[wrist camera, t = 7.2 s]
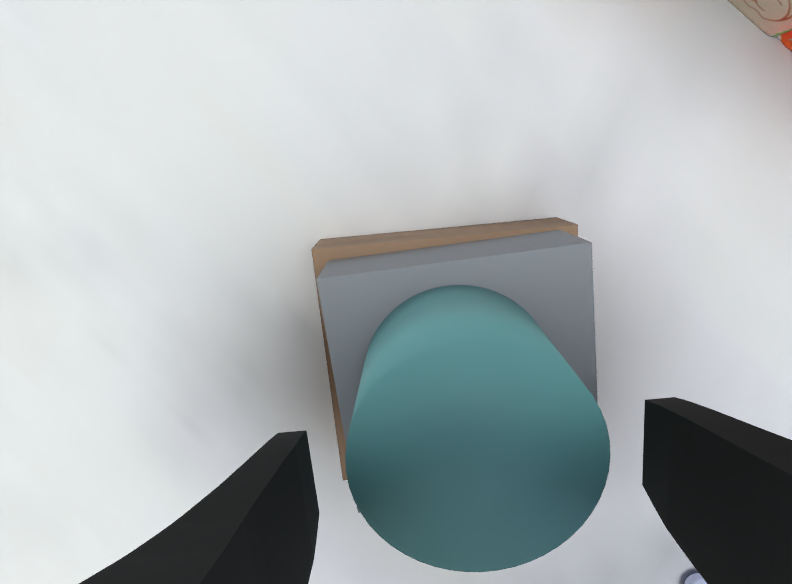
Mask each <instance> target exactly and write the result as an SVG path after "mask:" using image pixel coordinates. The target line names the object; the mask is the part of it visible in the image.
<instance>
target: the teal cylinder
mask: <svg viewBox="0 0 792 584" xmlns="http://www.w3.org/2000/svg"><path fill="white" fill-rule="evenodd" d="M345 461H346V474H347V479H348V484H349V487H350V490H351V493H352V496H353V499H354V501H355V503H356V505H357V507H358V508H359V510H360V512H361V514H362V515H363V517H364V518H365V519H366V521H367V522H368V524H369V525H370V526H371V527H372V528H373V529H374V530H375V531H376V533H377V534H378V535H379V536H380V537H382V538H383V539H384V540H385V541H386V542H388V543H389V544H390V545H391V546H393V547H394V548H396V549H397V550H399V551H400V552H402V553H404V554H405V555H407V556H409V557H411V558H413V559H416V560H418V561H420V562H423V563H426V564H429V565H431V566H434V567H439V568H443V569H448V570H454V571H463V572H486V571H496V570H502V569H506V568H511V567H515V566H518V565H521V564H524V563H527V562H530V561H532V560H534V559H537V558H539V557H541V556H543V555H545V554H547V553H548V552H550V551H552V550H553V549H555V548H557V547H558V546H560V545H561V544H562V543H563V542H565V541H566V540H567V539H569V538H570V537H571V536H572V535H573V534H574V533H575V532H576V531H577V530H578V529H579V528H580V527H581V526H582V525H583V523H584V522H585V521H586V520H587V518H588V517H589V516H590V514H591V513H592V511H593V510H594V508H595V506H596V505H597V503H598V501H599V499H600V497H601V494H602V492H603V489H604V487H605V484H606V480H607V476H608V472H609V463H610V441H609V436H608V431H607V426H606V423H605V420H604V417H603V415H602V412H601V410H600V408H599V406H598V404H597V402H596V401H595V399H594V397H593V395H592V394H591V393H590V391H589V390H588V389H587V388H586V386H585V385H584V384H583V382H582V381H581V380H580V378H579V377H578V376H577V375H576V373H575V372H574V371H573V369H572V368H571V367H570V366H569V364H568V363H567V362H566V360H565V359H564V358H563V356H562V355H561V354H560V353H559V351H558V350H557V349H556V347H555V346H554V345H553V344H552V342H551V341H550V340H549V338H548V337H547V336H546V334H545V333H544V332H543V331H542V329H541V328H540V327H539V325H538V324H537V323H536V322H535V320H534V319H533V318H532V316H531V315H530V314H529V313H528V312H527V311H526V310H525V309H524V308H522V307H521V306H520V305H518V304H517V303H516V302H514V301H513V300H511V299H510V298H508V297H506V296H504V295H502V294H500V293H497V292H495V291H492V290H489V289H485V288H481V287H477V286H468V285H450V286H443V287H438V288H434V289H430V290H427V291H424V292H422V293H419V294H417V295H415V296H413V297H411V298H410V299H408V300H406V301H404V302H403V303H402V304H400V305H399V306H398V307H396V308H395V309H394V310H393V311H392V312H391V313H390V314H389V315H388V316H387V317H386V318H385V319H384V320H383V322H382V323H381V324H380V326H379V327H378V328H377V330H376V332H375V334H374V335H373V337H372V340H371V342H370V345H369V347H368V350H367V354H366V358H365V363H364V367H363V371H362V376H361V380H360V385H359V389H358V393H357V398H356V402H355V407H354V411H353V415H352V420H351V424H350V429H349V433H348V437H347V443H346V453H345Z"/></svg>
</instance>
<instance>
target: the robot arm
mask: <svg viewBox="0 0 792 584" xmlns="http://www.w3.org/2000/svg"><path fill="white" fill-rule="evenodd" d="M642 485H643V487H644V489H645V490H646V492H647V494H648V496H649V498H650V500H651V502H652V504H653V505H654V507H655V509H656V511H657V513H658V514H659V516H660V518H661V519H662V521H663V523H664V525H665V526H666V528H667V530H668V531H669V532H670V534H671V535H672V537H673V538H674V539H675V541H676V542H677V544H678V545H679V546H680V548H681V549H682V550H683V552H684V553H685V554H686V556H687V557H688V559H689V560H690V561H691V563H692V564H693V565H694V567H695V568H696V569H697V571H698V572H699V573H695V574H692V575H690V576H688V578H687V579H686V580H685V583H684V584H792V440H790V439H787V438H785V437H782V436H779V435H777V434H774V433H771V432H769V431H766V430H764V429H761V428H758V427H756V426H753V425H751V424H748V423H745V422H743V421H740V420H738V419H735V418H733V417H730V416H727V415H725V414H722V413H720V412H717V411H714V410H712V409H709V408H706V407H704V406H701V405H698V404H695V403H692V402H689V401H686V400H683V399H679V398H675V397H672V398H661V399H650V400H645V416H644V448H643V480H642ZM318 520H319V508H318V502H317V495H316V489H315V483H314V476H313V470H312V464H311V457H310V451H309V444H308V438H307V432H306V431H296V432H285V433H278V434H276V435H275V436H274V437H273V438H271V439H270V440H269V441H268V442H267V443H266V444H265V445H263V446H262V447H261V448H260V449H259V450H258V451H257V452H256V453H255V454H254V455H253V456H251V457H250V458H249V459H248V460H247V461H246V462H245V463H244V464H243V465H242V466H241V467H239V468H238V469H237V470H236V471H235V472H234V473H233V474H232V475H230V476H229V477H228V478H227V479H226V480H225V481H224V482H223V483H222V484H220V485H219V486H218V487H217V488H216V489H214V490H213V491H212V492H211V493H210V494H208V495H207V496H206V497H205V498H203V499H202V500H201V501H200V502H199V503H197V504H196V505H195V506H194V507H192V508H191V509H190V510H189V511H188V512H186V513H185V514H184V515H183V516H181V517H180V518H179V519H177V520H176V521H175V522H174V523H172V524H171V525H169V526H168V527H167V528H165V529H164V530H163V531H161V532H160V533H159V534H157V535H156V536H154V537H153V538H151V539H150V540H148V541H147V542H145V543H144V544H142V545H141V546H140V547H138V548H137V549H135V550H134V551H132V552H131V553H129V554H128V555H126V556H124V557H123V558H121V559H120V560H118V561H116V562H115V563H113V564H111V565H110V566H108V567H106V568H105V569H103V570H101V571H100V572H98V573H96V574H95V575H93V576H91V577H90V578H88V579H86V580H85V581H83V582H81V583H79V584H308V582H309V577H310V573H311V569H312V565H313V560H314V554H315V546H316V538H317V529H318Z"/></svg>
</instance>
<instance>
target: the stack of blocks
mask: <svg viewBox="0 0 792 584" xmlns="http://www.w3.org/2000/svg"><path fill="white" fill-rule="evenodd" d="M728 1H730V2H731V3H732V4H733V5H734V6H735V7H736V8H737V9H738V10H739V11H741V12H742V13H743V14H744V15H745V16H746V17H747V18H748V19H750V20H751V21H752V22H753V23H754V24H756V25H757V26H758V27H759V28H760V29H761V30H762V31H763V32H765V33H766V34H767V35H769V36H776V37H777V38H778V39H780V40H781V41H782V43H783V44H784V45H785V47H787V48H788V49H790V50H792V0H728Z"/></svg>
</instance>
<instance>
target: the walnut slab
mask: <svg viewBox="0 0 792 584" xmlns="http://www.w3.org/2000/svg"><path fill="white" fill-rule="evenodd" d="M552 230H562V231H564V232H567V233H569V234H572V235H574V236H577V237H578V225H577V224H574V223H571V222H568V221H565V220H562V219H559V218H546V219H535V220H524V221H513V222H503V223H492V224H481V225H470V226H459V227H449V228H438V229H427V230H416V231H406V232H395V233H384V234H373V235H362V236H352V237H341V238H330V239H321V240H320V241H319V242H318V243H317V244H316V245H315V246H314V247H313V248H312V256H313V263H314V271H315V278H316V279H317V277H318V276H319V274H320V273H321V271H322V270H323V268H324V267H325V265H326V263H327V262H328V261H329V260H336V259H344V258H351V257H359V256H366V255H374V254H381V253H388V252H396V251H403V250H411V249H418V248H426V247H433V246H441V245H448V244H455V243H463V242H470V241H478V240H485V239H493V238H500V237H508V236H515V235H522V234H530V233H537V232H545V231H552ZM316 285H317V280H316ZM317 293H318V300H319V307H320V315H321V322H322V329H323V337H324V344H325V352H326V359H327V366H328V374H329V381H330V388H331V396H332V403H333V410H334V418H335V425H336V433H337V440H338V447H339V455H340V462H341V469H342V477H343V480H348V479H347V474H346V461H345V453H346V442H345V437H344V431H343V425H342V420H341V414H340V409H339V403H338V397H337V392H336V386H335V381H334V375H333V370H332V364H331V358H330V353H329V347H328V342H327V336H326V330H325V325H324V319H323V314H322V308H321V303H320V297H319V291H318V286H317Z"/></svg>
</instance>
